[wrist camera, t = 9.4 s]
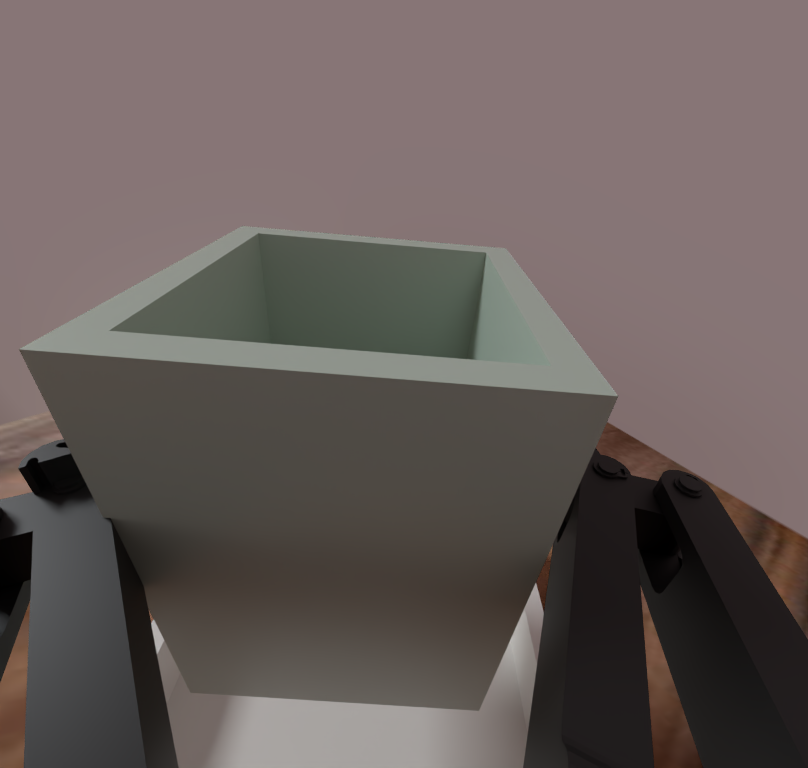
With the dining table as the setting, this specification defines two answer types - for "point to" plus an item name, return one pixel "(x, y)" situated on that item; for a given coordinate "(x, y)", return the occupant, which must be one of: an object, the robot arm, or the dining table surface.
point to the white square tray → (357, 722)
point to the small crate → (330, 457)
